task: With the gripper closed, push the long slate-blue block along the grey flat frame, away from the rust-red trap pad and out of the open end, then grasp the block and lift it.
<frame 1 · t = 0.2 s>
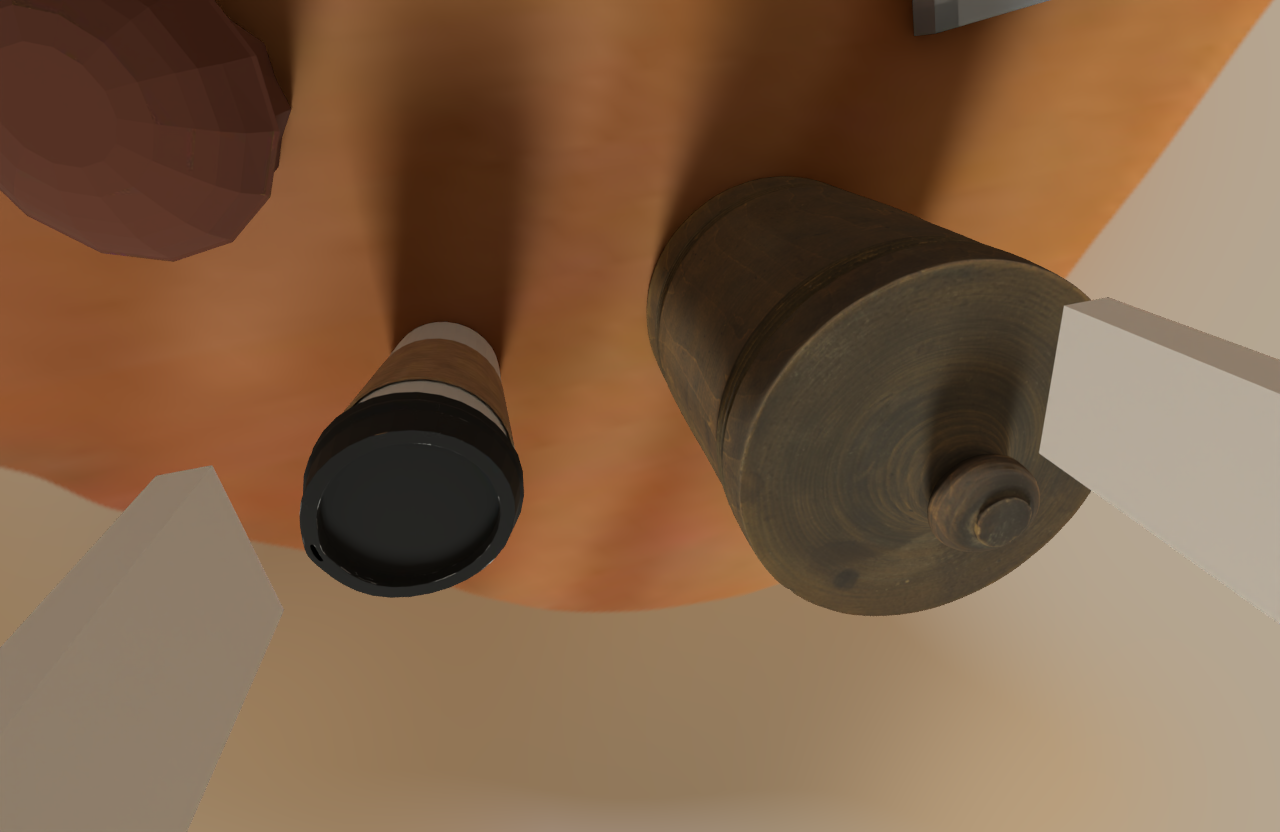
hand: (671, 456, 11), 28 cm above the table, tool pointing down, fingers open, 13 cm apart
coffee cup: (446, 369, 39), on the table
muffin: (188, 99, 31), on the table
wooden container: (767, 306, 40), on the table
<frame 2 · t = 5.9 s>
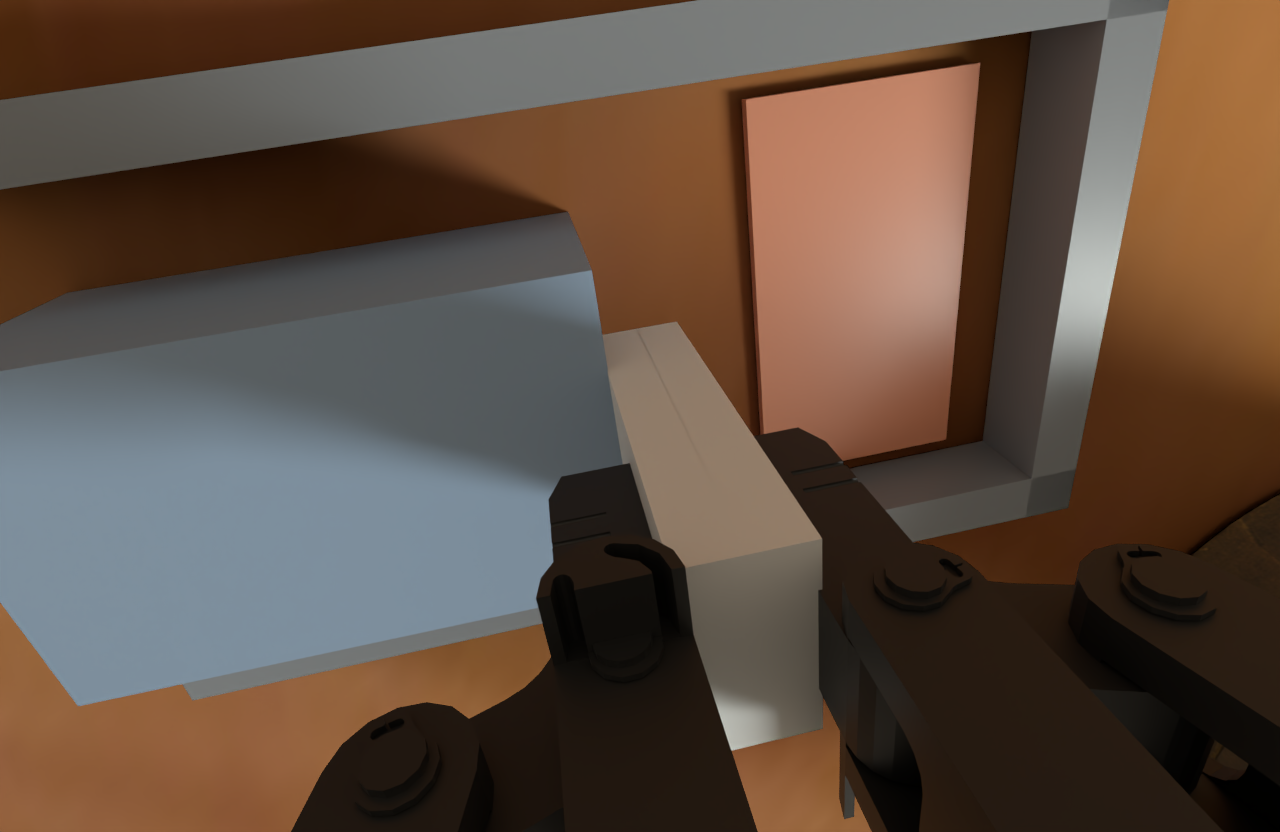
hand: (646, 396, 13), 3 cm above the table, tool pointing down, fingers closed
slate block: (371, 382, 15), on the table, touching gripper
grey flat frame: (606, 336, 15), on the table
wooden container: (1279, 622, 25), on the table
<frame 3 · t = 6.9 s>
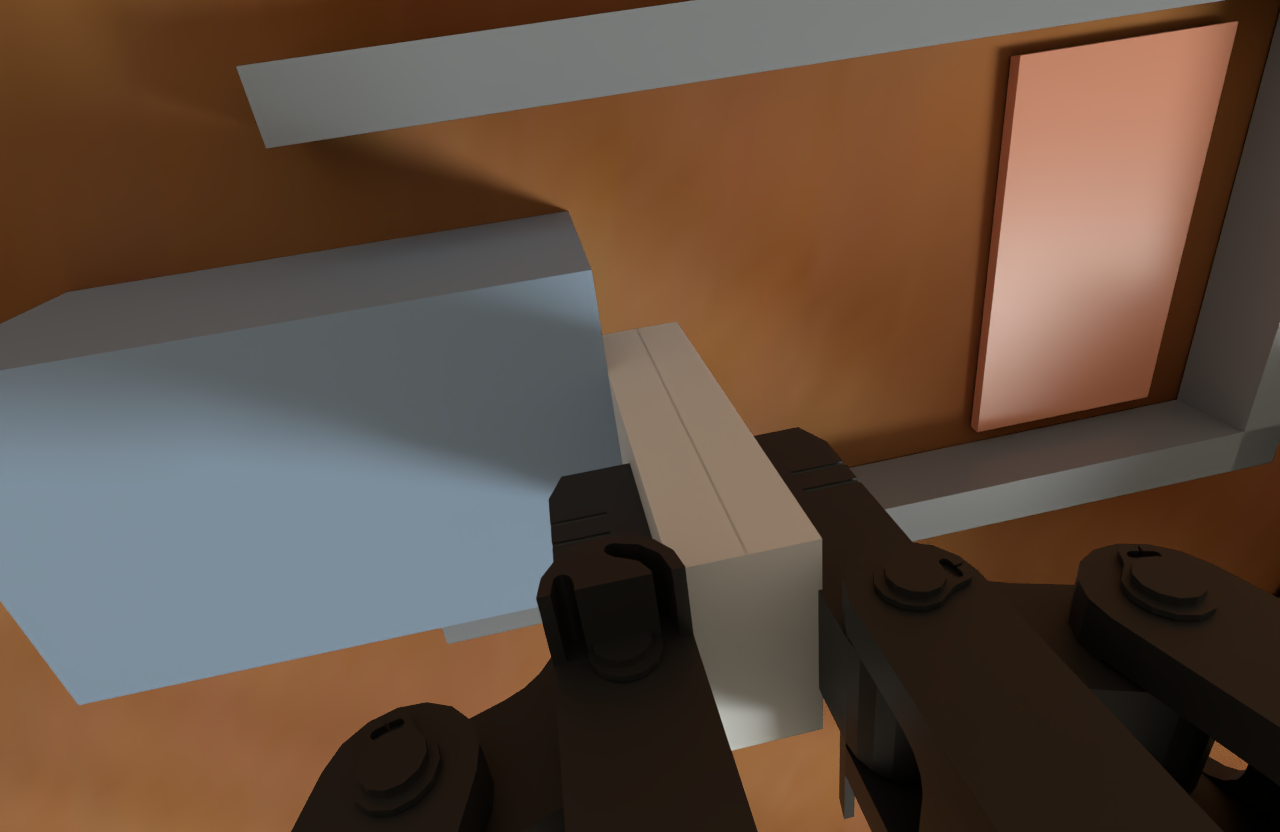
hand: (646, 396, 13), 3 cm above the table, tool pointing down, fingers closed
slate block: (371, 382, 15), on the table
grey flat frame: (850, 290, 16), on the table
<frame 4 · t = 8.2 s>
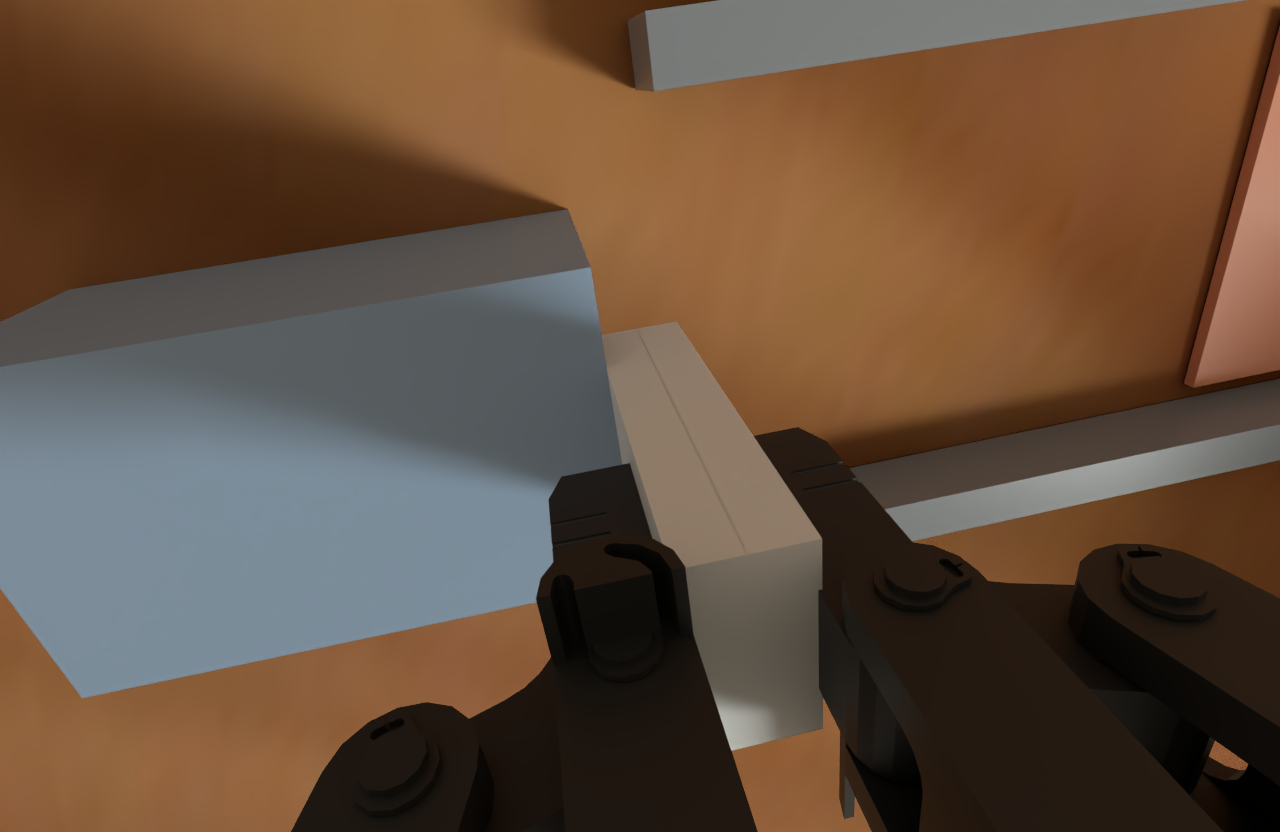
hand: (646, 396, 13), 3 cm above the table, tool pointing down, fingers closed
slate block: (372, 378, 15), on the table, touching gripper
grey flat frame: (1099, 245, 17), on the table
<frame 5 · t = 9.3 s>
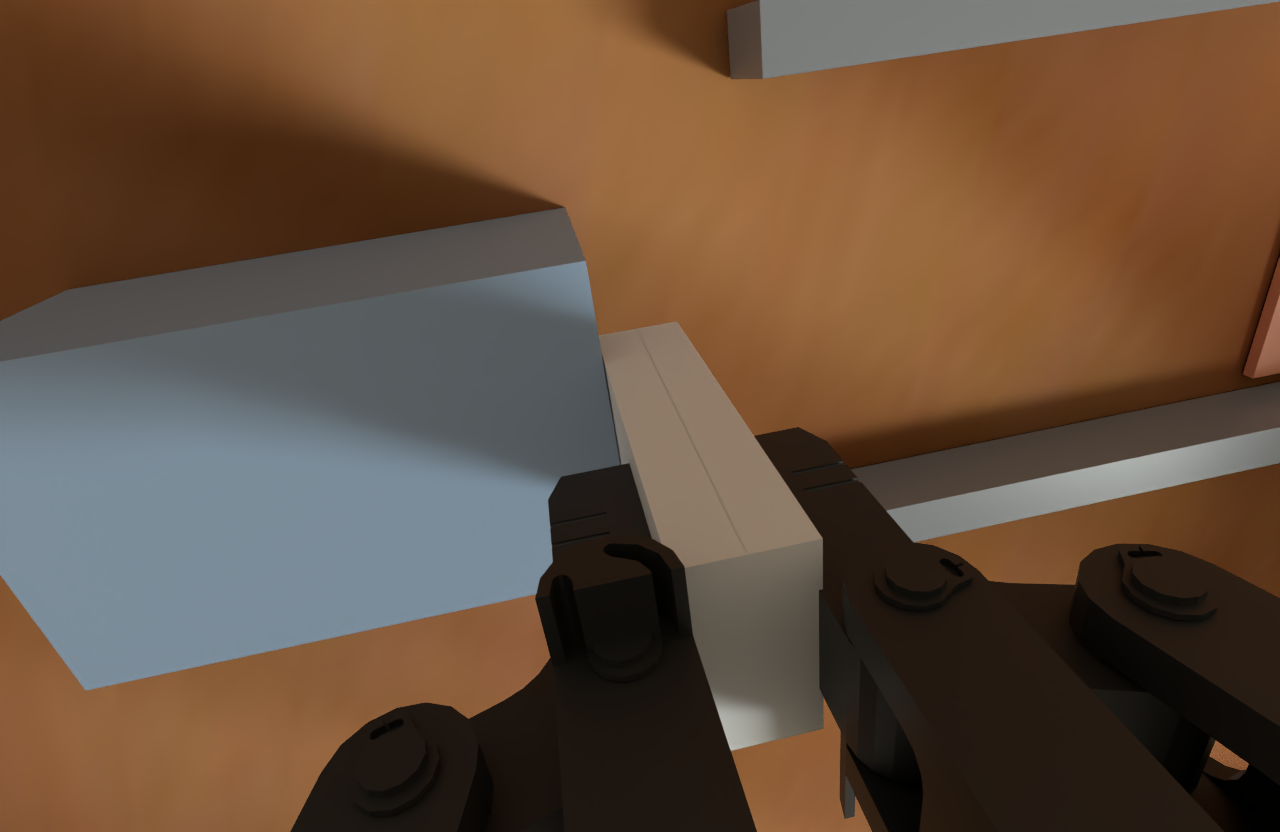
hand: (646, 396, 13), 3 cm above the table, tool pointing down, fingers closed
slate block: (371, 375, 15), on the table
grey flat frame: (1168, 237, 17), on the table
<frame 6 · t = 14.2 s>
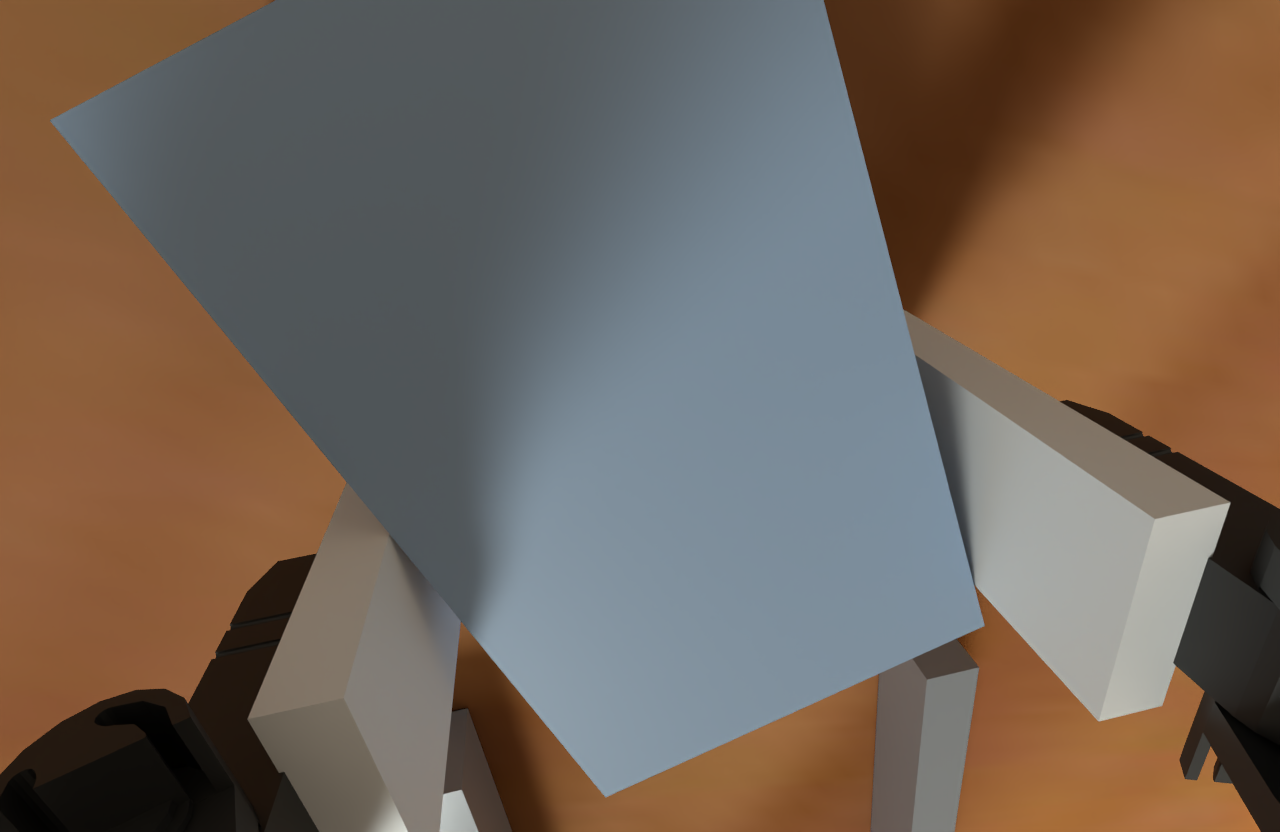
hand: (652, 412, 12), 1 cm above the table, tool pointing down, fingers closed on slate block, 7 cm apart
slate block: (603, 310, 12), on the table, touching gripper
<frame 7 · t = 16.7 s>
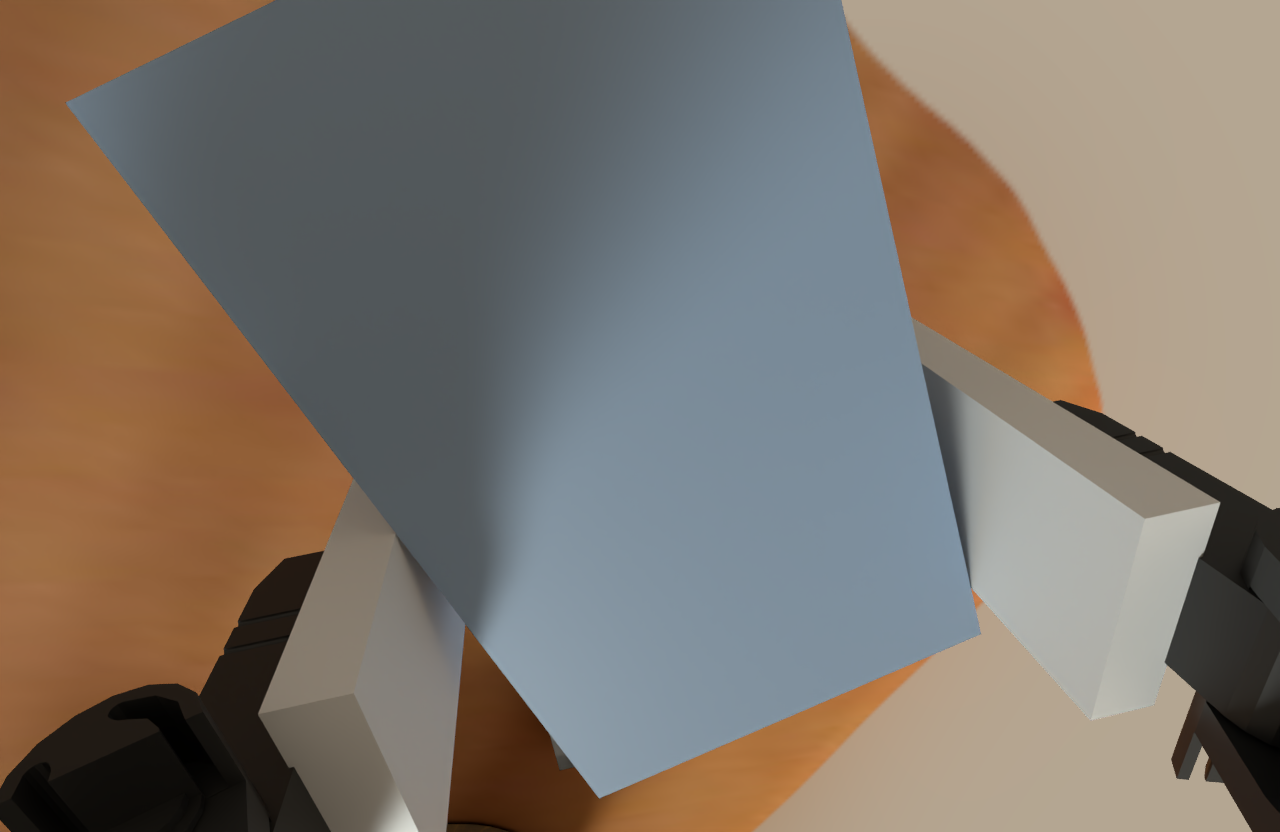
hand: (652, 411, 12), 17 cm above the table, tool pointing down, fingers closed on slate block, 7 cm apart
slate block: (606, 310, 12), point 16 cm above the table, touching gripper
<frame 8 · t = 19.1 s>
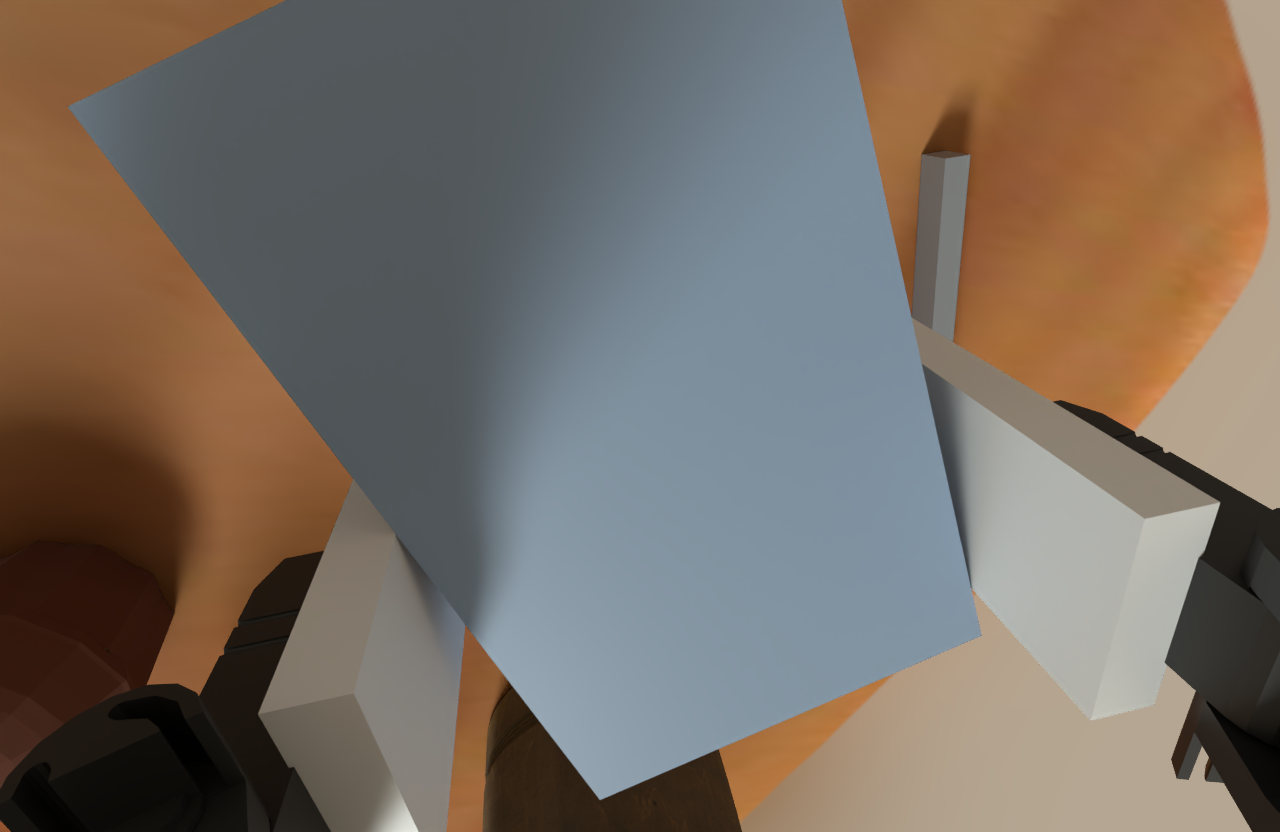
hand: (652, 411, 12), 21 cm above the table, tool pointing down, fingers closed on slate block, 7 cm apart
slate block: (607, 312, 12), point 20 cm above the table, touching gripper
muffin: (81, 606, 36), on the table
grey flat frame: (822, 381, 37), on the table
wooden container: (598, 725, 46), on the table
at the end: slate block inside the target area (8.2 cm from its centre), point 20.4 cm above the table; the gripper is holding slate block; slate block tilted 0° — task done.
